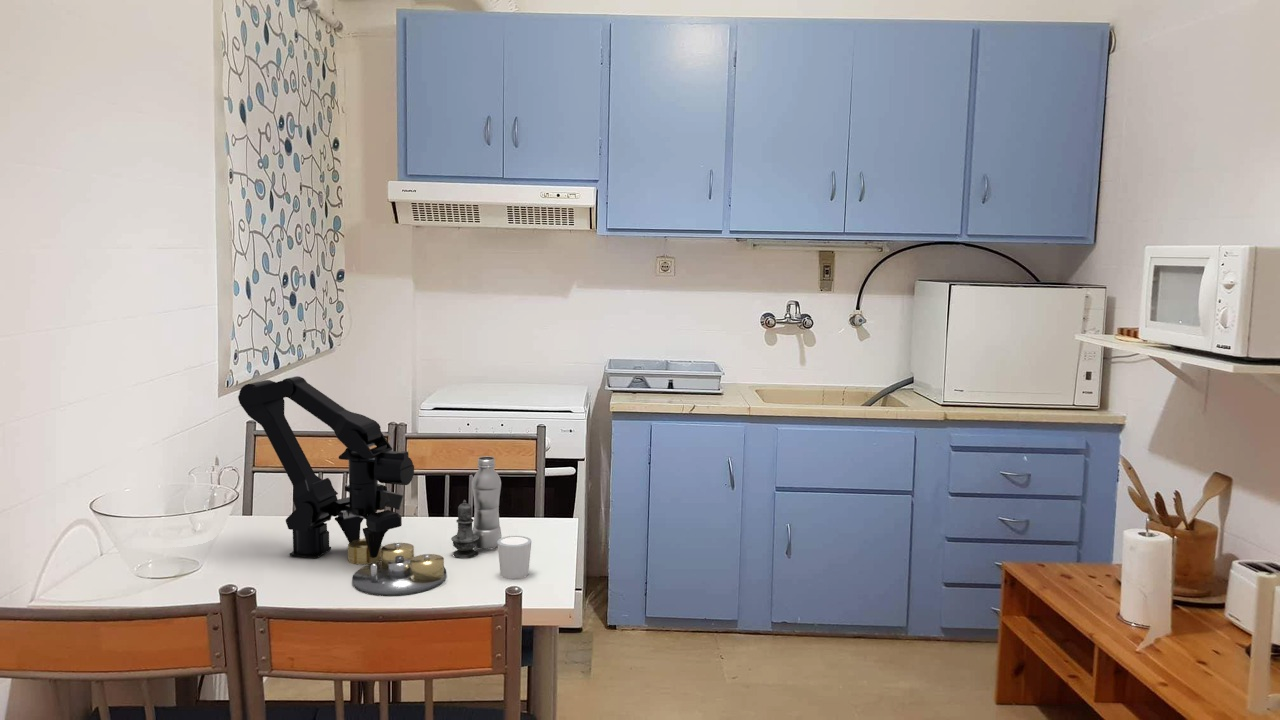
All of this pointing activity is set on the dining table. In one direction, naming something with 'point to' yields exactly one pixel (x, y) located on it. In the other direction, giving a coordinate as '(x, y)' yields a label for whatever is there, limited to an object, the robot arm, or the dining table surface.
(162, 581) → the dining table surface
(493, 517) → the plastic bottle
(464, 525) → the salt shaker
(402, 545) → the carrier
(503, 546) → the shot glass
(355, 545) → the gear
